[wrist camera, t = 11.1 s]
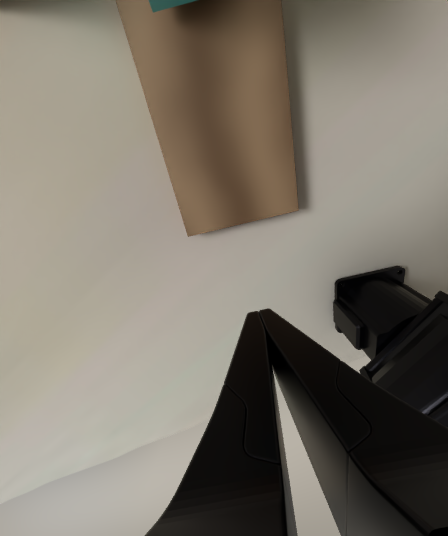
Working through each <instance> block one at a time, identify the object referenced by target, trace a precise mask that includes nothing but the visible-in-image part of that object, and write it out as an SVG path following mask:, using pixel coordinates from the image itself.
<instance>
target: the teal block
mask: <svg viewBox="0 0 448 536" xmlns="http://www.w3.org/2000/svg"><path fill="white" fill-rule="evenodd" d="M148 1H149V3H150V6H151V9H152V11H153V12H157V11H161V10H164V9H168V8H172V7H175V6H179V5H182V4H186V3H190V2H193V1H197V0H148Z"/></svg>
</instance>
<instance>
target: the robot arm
mask: <svg viewBox="0 0 448 536" xmlns="http://www.w3.org/2000/svg"><path fill="white" fill-rule="evenodd" d="M398 271H399V272H398ZM404 276H405V269H404V268H402V267H400V266H395V267H391V268H386V269H382V270H377V271H373V272H368V273H364V274H359V275H355V276H350V277H346V278H341V279H338V280H337V281H336V282H335V300H334V302H333V315H334V322H335V328H336V330H337V331H338V332H339V333H344V335H345V336H346V337H347V338H348V340H349V341H350V342H351V343H352V345H353V346H354V347H355V348H356V349H358V350H361V349H362V350H363V351H364V352H365V353H366V354H367V356H368V357H369V358H370V359H371V361H370V362H369V363H368V364H367V365H366V366H363V367H362V368H361V369H360V370H359V371H360V373H361V374H360V373H358V372H357V371H355V370H354V369H353V368H351V367H350V366H348V365H347V364H346V363H344V362H343V361H340V359H339V358H337V357H336V356H334V355H333V354H332V353H330V352H329V351H328V350H326V349H325V348H323V347H322V346H321V345H319V344H318V343H317V342H315V341H314V340H312V339H311V338H310V337H308V336H307V335H305V334H304V333H303V332H301V331H300V330H299V329H297V328H296V327H294V326H293V325H292V324H290V323H289V322H287V321H286V320H285V319H283V318H282V317H281V316H279V315H278V314H276V313H275V312H274V311H272V310H271V309H264V310H260V311H259V312H258V311H254V312H250V313H248V314H247V316H246V319H245V322H244V325H243V328H242V331H241V334H240V337H239V340H238V343H237V346H236V349H235V352H234V355H233V358H232V361H231V364H230V367H229V370H228V372H227V375H226V378H225V381H224V385H223V387H222V390H221V393H220V396H219V399H218V401H217V404H216V407H215V409H214V412H213V414H212V417H211V419H210V421H209V423H208V426H207V428H206V430H205V432H204V434H203V437H202V439H201V441H200V443H199V445H198V447H197V449H196V451H195V453H194V455H193V458H192V460H191V462H190V464H189V466H188V468H187V470H186V472H185V474H184V477H183V479H182V481H181V483H180V485H179V487H178V489H177V491H176V493H175V495H174V496H173V498H172V500H171V502H170V504H169V505H168V507H167V508H166V510H165V511H164V513H163V514H162V516H161V517H160V518H159V519H158V521H157V522H156V523H155V524H154V526H153V527H152V528H151V529H150V530H149V531H148V532H147V534H146V535H145V536H297V529H296V522H295V515H294V509H293V502H292V496H291V488H290V481H289V475H288V468H287V461H286V454H285V448H284V442H283V434H282V428H281V421H280V414H279V407H278V400H277V394H276V387H275V380H274V374H275V376H276V379H277V381H278V384H279V386H280V388H281V391H282V393H283V396H284V398H285V401H286V403H287V406H288V408H289V410H290V413H291V415H292V417H293V420H294V423H295V425H296V427H297V430H298V432H299V435H300V437H301V440H302V442H303V444H304V447H305V449H306V452H307V454H308V457H309V459H310V461H311V464H312V466H313V468H314V471H315V473H316V476H317V478H318V481H319V483H320V486H321V488H322V491H323V493H324V495H325V498H326V500H327V503H328V505H329V508H330V510H331V512H332V515H333V517H334V520H335V522H336V524H337V527H338V530H339V532H340V534H341V536H448V295H447V294H446V293H444V292H442V291H439V292H438V293H437V294H436V295H435V298H434V299H433V300H430V299H428V298H427V297H425V296H423V295H422V294H420V293H419V292H417V291H415V290H414V289H412V288H410V287H409V286H407V285H405V284H404ZM341 283H342V285H340V284H341ZM339 285H340V286H339ZM272 368H273V369H272ZM273 371H274V374H273Z"/></svg>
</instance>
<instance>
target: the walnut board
mask: <svg viewBox="0 0 448 536" xmlns="http://www.w3.org/2000/svg"><path fill="white" fill-rule="evenodd" d="M116 3H117V6H118V10H119V13H120V16H121V20H122V23H123V26H124V29H125V33H126V36H127V39H128V42H129V46H130V49H131V52H132V55H133V59H134V62H135V65H136V68H137V72H138V75H139V78H140V82H141V85H142V88H143V91H144V95H145V98H146V101H147V104H148V108H149V111H150V114H151V117H152V121H153V124H154V127H155V131H156V134H157V137H158V140H159V144H160V147H161V150H162V153H163V157H164V160H165V163H166V166H167V170H168V173H169V176H170V180H171V183H172V186H173V189H174V193H175V196H176V199H177V202H178V206H179V209H180V212H181V215H182V219H183V222H184V225H185V229H186V232H187V235H188V237H189V236H193V235H197V234H201V233H206V232H210V231H214V230H218V229H222V228H227V227H231V226H235V225H239V224H243V223H248V222H252V221H256V220H260V219H265V218H269V217H273V216H277V215H281V214H286V213H290V212H294V211H298V197H297V185H296V173H295V161H294V149H293V137H292V125H291V113H290V100H289V88H288V76H287V64H286V52H285V40H284V28H283V16H282V3H281V0H197V1H193V2H190V3H186V4H182V5H179V6H175V7H172V8H168V9H164V10H161V11H157V12H153V11H152V9H151V6H150V3H149V1H148V0H116Z"/></svg>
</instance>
